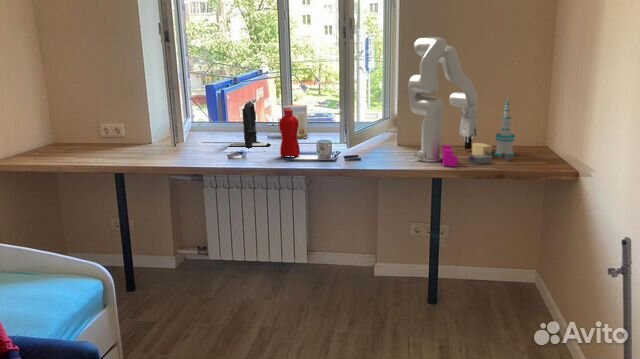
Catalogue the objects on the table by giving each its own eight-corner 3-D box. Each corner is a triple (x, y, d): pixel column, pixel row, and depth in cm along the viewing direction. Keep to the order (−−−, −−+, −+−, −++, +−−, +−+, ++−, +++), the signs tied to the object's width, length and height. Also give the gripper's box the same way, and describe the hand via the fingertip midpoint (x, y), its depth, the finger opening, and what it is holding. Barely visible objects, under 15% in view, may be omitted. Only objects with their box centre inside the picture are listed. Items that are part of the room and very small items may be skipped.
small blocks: (475, 164, 260) (475, 158, 259) (468, 162, 265) (469, 155, 264) (511, 161, 265) (511, 154, 264) (503, 158, 271) (504, 152, 270)
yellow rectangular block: (485, 159, 272) (485, 147, 270) (471, 154, 283) (472, 143, 281) (493, 158, 273) (494, 146, 271) (480, 153, 284) (480, 142, 282)
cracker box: (308, 137, 343) (307, 104, 338) (306, 139, 337) (305, 105, 332) (286, 137, 345) (285, 104, 340) (284, 139, 339) (283, 106, 334)
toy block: (457, 166, 256) (458, 151, 254) (443, 165, 257) (444, 150, 255) (454, 160, 271) (456, 145, 269) (442, 159, 272) (443, 145, 270)
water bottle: (286, 153, 296) (284, 108, 290) (302, 155, 290) (300, 109, 284) (275, 156, 289) (273, 110, 283) (291, 158, 283) (289, 111, 277)
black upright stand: (234, 142, 335) (231, 96, 328) (274, 141, 333) (272, 95, 326) (221, 152, 304) (218, 102, 297) (266, 152, 302) (263, 101, 295)
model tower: (515, 156, 274) (519, 97, 266) (495, 156, 276) (498, 97, 268) (512, 152, 284) (516, 95, 276) (493, 152, 286) (496, 95, 278)
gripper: (455, 113, 292) (454, 146, 296) (471, 117, 278) (469, 152, 282) (467, 112, 294) (466, 145, 298) (483, 116, 280) (481, 150, 284)
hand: (467, 148), depth 290 cm, fingers closed
